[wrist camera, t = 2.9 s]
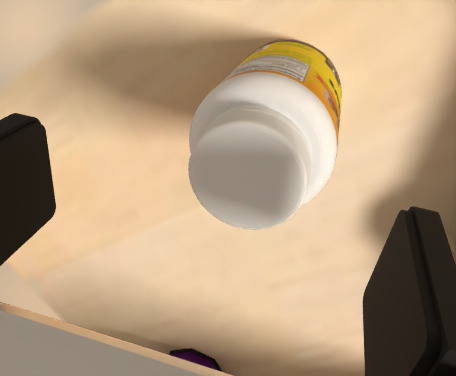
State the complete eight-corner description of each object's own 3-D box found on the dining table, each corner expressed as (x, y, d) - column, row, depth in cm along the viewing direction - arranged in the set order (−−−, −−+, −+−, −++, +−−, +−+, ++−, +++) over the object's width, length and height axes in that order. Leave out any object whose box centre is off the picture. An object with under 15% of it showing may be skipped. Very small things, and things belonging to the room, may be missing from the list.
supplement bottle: (328, 149, 23) (311, 268, 14) (232, 129, 24) (161, 229, 15) (355, 45, 20) (356, 116, 11) (244, 27, 21) (165, 79, 12)
